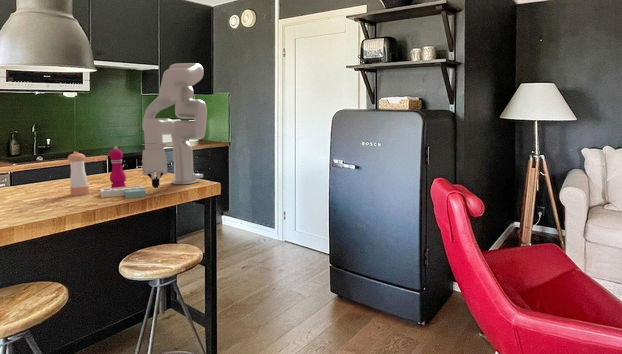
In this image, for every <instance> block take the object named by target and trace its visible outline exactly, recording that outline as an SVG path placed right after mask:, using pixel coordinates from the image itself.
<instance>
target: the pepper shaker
mask: <svg viewBox="0 0 622 354" xmlns="http://www.w3.org/2000/svg"><path fill="white" fill-rule="evenodd" d="M67 159H68V162H70V163H69V164H70V178H69V179H70V189H69V190H70V195H71V196H84V195H88V194H90V190H89V189H90V188H89V185H88V177H87V174H86V169H85V161H86V155H85V154H83V153H80V152H78V151H74V152H73V153H71V154H69V155H68V156H67Z"/></svg>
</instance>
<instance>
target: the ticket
mask: <svg viewBox="0 0 622 354" xmlns="http://www.w3.org/2000/svg"><path fill="white" fill-rule="evenodd" d="M139 188H141V189H142V188H143V189H144V190H145V191H146V187H145V186H144V185H132V186H131V185H130V186H126V187H118V188H112V187H107V188H100V191H99V192H100V197H101V198H109V197H110V198H112V197H120V196H121V197H122V196H124V190H131V189H139Z"/></svg>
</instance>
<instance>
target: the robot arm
mask: <svg viewBox="0 0 622 354" xmlns="http://www.w3.org/2000/svg"><path fill="white" fill-rule="evenodd" d="M204 73H205V72H204V68H203V66H202V65H201V64H200V63H197V62H195V63H194V62H192V63H191V62H190V63H189V62H188V63H187V62H185V63H183V62H182V63H180V62H179V63H173V64H171V65H170V66H169V68H168V69H166V70H165V71H164V72H163V74H162V79H161V83H160V87H159V92H158V96H157V97H156V98H155V99H154V100H153V101H152V102H151V103H150V104H149V105H147V107H146V109H145V111H144V114H143V119H142V130H143V135H144V150H143V149H142V156H141V157H142V159H141V160H142V161H141V166H142V167H141V168H142V169H141V170H142V176H147V177H149V178H150V179H151V186H152V187H153V188H154V189H158V188H159V187H160V179H161V177H163V176H164V175H167V174H168V173H169V172H168V163H167V161H168V160H167V155H166V150H165V149H164V148H166V147H167V143H164V140H163V135H164V136H165V135H167V136H169V135H170V138H171V143H172V152H173V153H172V154H173V156H172V157H173V173H174V174H173V175H174V179H172V180H171V184H174V185H191V184H196V183H197V182H198V179H199V178H200V179H201V178H202V179H203V178H204V174H203V173H195V172H194V155H193V153H194V151H193V147H192V145H191V143H190V141H191V140H195V141H198V140H203V139H204V137H205V136H206V132H207V131H206V129H207V120H208V107H207V104H206V102H205V101H203V100H202V99H194V92H195V91H194V89H193V86H195V85H197V83H199V82H200V81H201V80H202V79H203V77H204ZM173 105H175V108H174V113H175V116H176V117H177V118H179V119H187V120H172V119H171V118H169V117H168V118H167V117H166V118H165V117H164V118H163V117H156V116H157V114H158V113H160V112H161V111H163V110H165V109H168V108H170V107H171V106H173ZM188 119H189V120H188ZM190 119H191V120H190ZM193 119H194V120H193ZM189 140H190V141H189ZM154 173H156V176H155V174H154Z"/></svg>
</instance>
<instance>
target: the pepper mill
mask: <svg viewBox="0 0 622 354" xmlns="http://www.w3.org/2000/svg"><path fill="white" fill-rule="evenodd" d="M108 154H109V156H108V157H109V158H110V162H111V164H112V166H111V167H112V170H111V172H110V175H109V181H110V182H111V183H112V184H111V188H118V187H127V186H126V180H127V177H126V176H127V175H126V174H125V171H124V169H123V166H122V163H123V157H124V153H123V152H122V150H120V149H119V148H118V146H113V149H112V150H110V151H109V153H108Z"/></svg>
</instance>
